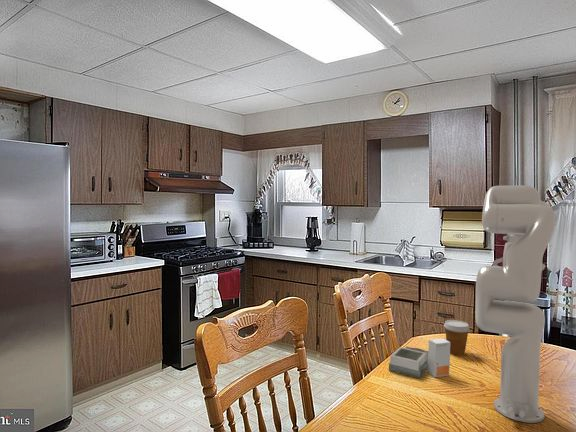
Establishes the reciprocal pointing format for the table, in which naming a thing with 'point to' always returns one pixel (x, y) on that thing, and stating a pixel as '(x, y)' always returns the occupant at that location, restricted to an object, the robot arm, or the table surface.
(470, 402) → the table surface
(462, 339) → the disposable coffee cup
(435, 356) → the skincare box
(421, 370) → the divided tray with ball
